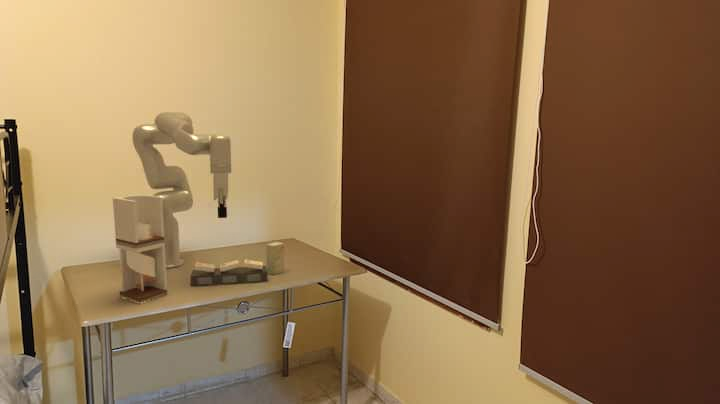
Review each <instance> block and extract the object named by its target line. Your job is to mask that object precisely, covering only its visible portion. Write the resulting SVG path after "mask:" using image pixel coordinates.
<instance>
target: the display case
mask: <svg viewBox="0 0 720 404" xmlns="http://www.w3.org/2000/svg"><path fill="white" fill-rule="evenodd" d="M112 206H113V207H112V209H113V219H114V221H113V222H114V233H115V235H114V236H115V237H114V238H115V247H116V248H115V249H119V259H120V260H119V261H120V274H121V287H122V288H121V289H122V291H119V293H118V294H119V297H120V296H121V297H124V298H127V299H130V300H133V301H136V302H139V303H141V302H144V301H148V300H151V301H153V300H152V299H154V300H157V299H160V298H163V297H166V296H168V283H167V268H166V261H165V242H164V224H163V206H162V197H156V196H153V195H147V194H143V193H141V194H135V195H127V196H119V197H112ZM159 297H160V298H159ZM156 298H157V299H156ZM148 302H149V301H148Z"/></svg>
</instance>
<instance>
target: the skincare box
mask: <svg viewBox="0 0 720 404" xmlns="http://www.w3.org/2000/svg"><path fill="white" fill-rule="evenodd" d="M266 268H267V275H273V276H274V275H278V274H281V273H285V243H284V242H278V241H274V242H271V243H267V244H266Z"/></svg>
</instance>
